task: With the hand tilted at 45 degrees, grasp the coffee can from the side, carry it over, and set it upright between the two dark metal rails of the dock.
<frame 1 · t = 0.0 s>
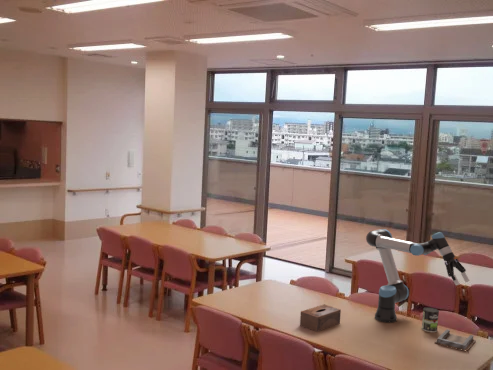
hand: (462, 283, 357), 36 cm above the table, tool tilted 35°, fingers open, 13 cm apart
tissue box cover: (320, 324, 370), on the table
rail dock: (455, 342, 348), on the table
coffee can: (429, 329, 369), on the table
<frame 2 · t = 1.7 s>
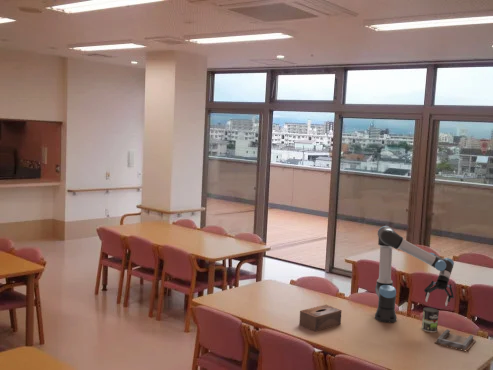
hand: (435, 303, 376), 16 cm above the table, tool tilted 45°, fingers open, 13 cm apart
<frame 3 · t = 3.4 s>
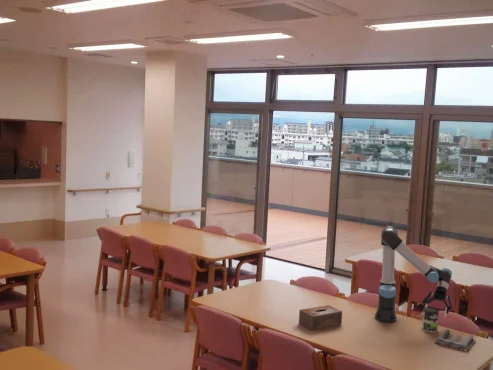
hand: (434, 314, 370), 10 cm above the table, tool tilted 45°, fingers open, 13 cm apart
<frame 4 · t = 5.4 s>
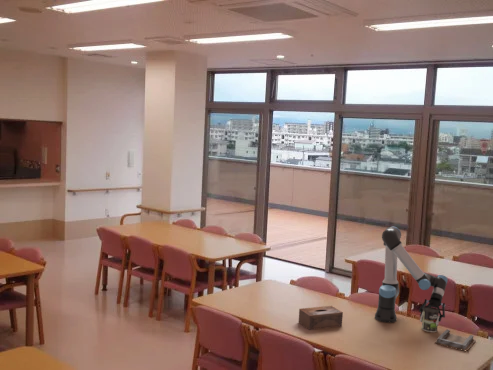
hand: (428, 323, 366), 5 cm above the table, tool tilted 45°, fingers closed on coffee can, 10 cm apart
coffee can: (429, 329, 369), on the table, touching gripper
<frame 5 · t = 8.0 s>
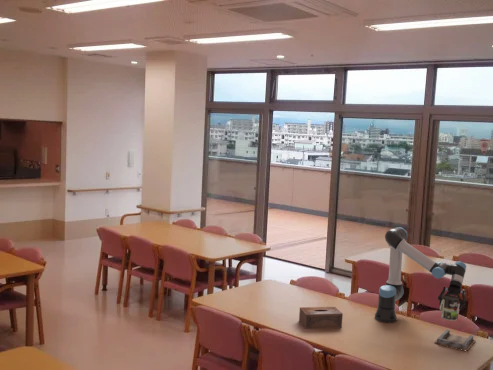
hand: (448, 311, 352), 18 cm above the table, tool tilted 45°, fingers closed on coffee can, 10 cm apart
coffee can: (449, 318, 356), point 13 cm above the table, touching gripper
when the fingers open (8 cm above the table, at t = 10.9 s): coffee can drops 1 cm, resting on rail dock.
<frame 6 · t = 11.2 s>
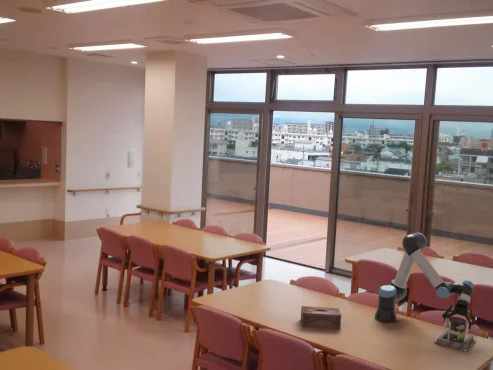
hand: (455, 330, 345), 9 cm above the table, tool tilted 45°, fingers open, 13 cm apart
coffee can: (455, 341, 348), point 1 cm above the table, touching rail dock
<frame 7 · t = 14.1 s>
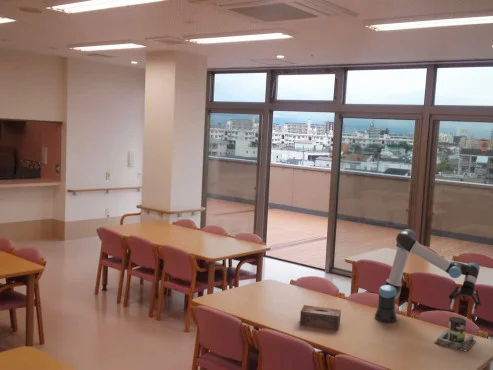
hand: (461, 310, 355), 18 cm above the table, tool tilted 45°, fingers open, 13 cm apart
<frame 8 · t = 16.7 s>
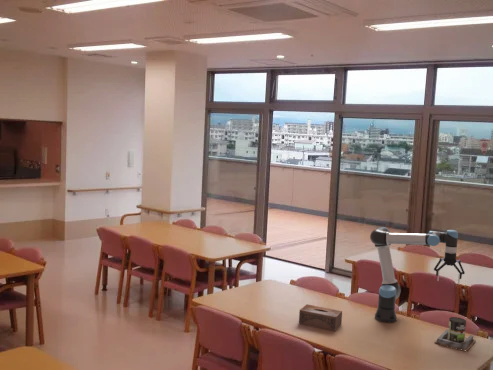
hand: (448, 282, 378), 31 cm above the table, tool pointing down, fingers open, 13 cm apart
at the end: coffee can inside the target area on the rail dock (0.3 cm from its centre), point 0.8 cm above the rail dock's base; coffee can tilted 0°; the gripper is holding nothing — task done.
